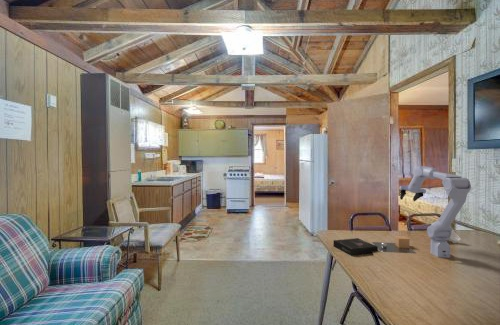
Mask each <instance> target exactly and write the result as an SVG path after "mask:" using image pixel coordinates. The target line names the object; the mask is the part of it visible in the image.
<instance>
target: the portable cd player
mask: <svg viewBox="0 0 500 325" xmlns="http://www.w3.org/2000/svg"><path fill="white" fill-rule="evenodd" d="M333 247H334V248H335V249H338V250H339V251H340V252H343V253H346V254H347V255H348V256H351V257H352V256H361V255H362V254H363V255H369V254H370V255H371V253H372V254H373V252H379V249H378V247H377V246H375V245H374V244H373V243H370V242H367V241H365V240H363V239H360V238H359V237H358V238H356V237H355V238H347V239H345V238H344V239H337V240H336V239H334V240H333Z"/></svg>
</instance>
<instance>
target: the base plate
mask: <svg viewBox="0 0 500 325" xmlns="http://www.w3.org/2000/svg"><path fill="white" fill-rule="evenodd" d="M371 244H373V245H375V246H377V247H378V251H379V252H381V253H397V254H398V253H399V254H417V252H416V251H414V250H413V249H412V248H411V247H409V248H399V247H398V246H396V245H395V242H385V241H384V242H383V241H382V242H379V241H377V242H376V241H372V242H371Z"/></svg>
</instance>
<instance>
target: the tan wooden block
mask: <svg viewBox="0 0 500 325" xmlns="http://www.w3.org/2000/svg"><path fill="white" fill-rule="evenodd" d="M394 240H395V241H394V243H395V245H396V246H398V247H399V248H410V242H411V241H410V238H408V237H407V236H405V235H404V236H403V235H395V238H394Z"/></svg>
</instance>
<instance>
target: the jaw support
mask: <svg viewBox="0 0 500 325" xmlns="http://www.w3.org/2000/svg"><path fill="white" fill-rule="evenodd" d="M461 240H462V238H461V237H460V236H459V235H458V233H456V232H455V230H454V229H453V230H452V232H451V236H450V237H449V238H448V240H447V241H448V242H449V243H450V242H452V243H453V244H457V243H458V242H459V241H461Z"/></svg>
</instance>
